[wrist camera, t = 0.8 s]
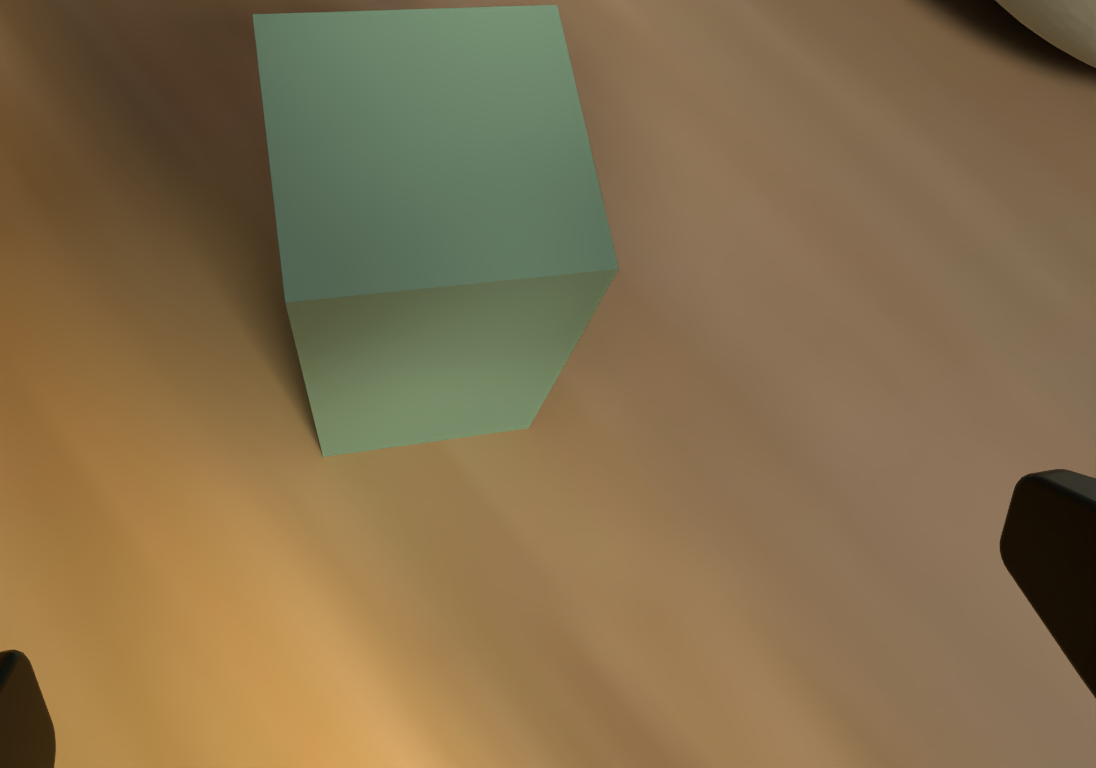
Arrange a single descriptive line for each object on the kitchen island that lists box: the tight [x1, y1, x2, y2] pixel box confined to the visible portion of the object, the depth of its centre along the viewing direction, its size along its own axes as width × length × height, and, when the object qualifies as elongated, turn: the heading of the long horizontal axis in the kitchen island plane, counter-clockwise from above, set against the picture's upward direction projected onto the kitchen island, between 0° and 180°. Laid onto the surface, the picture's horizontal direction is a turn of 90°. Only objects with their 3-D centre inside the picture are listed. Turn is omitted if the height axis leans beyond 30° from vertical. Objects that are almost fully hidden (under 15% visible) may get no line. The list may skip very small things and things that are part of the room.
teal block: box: [253, 5, 619, 457], centre depth 18 cm, size 5×5×9 cm
